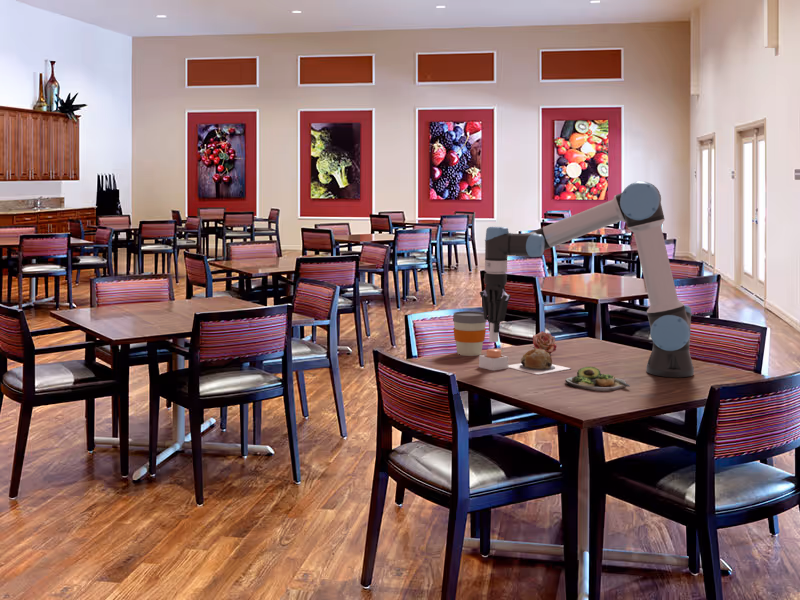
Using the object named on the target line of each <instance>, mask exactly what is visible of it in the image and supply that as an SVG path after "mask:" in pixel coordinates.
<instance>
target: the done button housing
mask: <svg viewBox="0 0 800 600" xmlns="http://www.w3.org/2000/svg"><path fill="white" fill-rule="evenodd" d="M508 365H509V356H506V355H503V354H501V357H499V358H490V357H486V354H481V355H478V367H479V368H480V369H485V370H488V371H499V370H505V369H509V368H508Z"/></svg>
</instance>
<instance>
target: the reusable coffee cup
mask: <svg viewBox="0 0 800 600" xmlns="http://www.w3.org/2000/svg"><path fill="white" fill-rule="evenodd" d="M452 321H453V336H454V337H453V339H454V341H455V346H456V347H455V348H456V354H457V355H459V354H460V356H466V357H473V356H475V357H477V356H480V355H482V351H483V345H484V341H485V338H486V331H487V328H486V325H487V322H488V320H485V319H484V312H481V311H472V310H471V311H470V310H469V311H467V310H465V311H455V312H453V317H452Z"/></svg>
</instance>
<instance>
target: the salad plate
mask: <svg viewBox="0 0 800 600" xmlns="http://www.w3.org/2000/svg"><path fill="white" fill-rule="evenodd" d="M564 382H565V383H566V385H568V386H570V387H573V388H576V389H577V388H578V389H583V390H589V391H597V392H611V391H613V392H614V391H617V390H621V389H623V388H626V387H631V385H630V384H628V383H626V380H625V379H622V378H621V379H620V378H616V377H615V376H614V375H611V374H608V373H607V374H605V373H601V370H600V369H598V368H597V367H595V366H585V367H581V368H579V369H578V370H577V372H576V376H572V377H567V378H565V380H564Z"/></svg>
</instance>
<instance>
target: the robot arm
mask: <svg viewBox="0 0 800 600" xmlns="http://www.w3.org/2000/svg"><path fill="white" fill-rule="evenodd" d="M661 196H662V195H661V192H660V190H659V189H658V188H657V187H656V185H655V184H652V183H650V182H647V181H643V180H639V181H635V182H632V183H630V184H629V185H627V186H626V187H624V190H623V191H622V192H621V193H618V194H615V195H613V199H611V200H608V201H606V202H602V203H601V204H598V205H596V206H594V207H591V208H588V209H586V210H584V211H583V210H582V211H581V212H579V213H575V214H573V215H570V216H568V217H566V218H563V219H560V220H558V221H556V222H553V223H551V224H550V223H549V224H548V225H546V226H543V227H540V228H538V229H536V230H533V231H530V232H527V233H511V232H509V228H508V227H507V226H488V227H487V228H486V230H485V239H484V241H485V242H484V245H485V246H484V248H485V249H484V251H485V252H484V274H483V275H484V278H483V279H484V280H483V283H484V284H485V287H484V290H483V291H482V290H481V291H480V292H479V295H480V298H481V302H482V310H483V313H484V319H485V320H487V322H488V332H489V339H488V341H489V342H490V343H496V342H499V333H500V323H502V322H505V319H506V314H507V309H508V305H509V301H510V300H511V298H512V297H511V294H508V293H507V292H506V287H505V285H507V282H508V281H507V278H508V274H507V272H508V256H510V257H512V256H514V257H515V256H516V257H529V258H530V257H531V258H538V257H539V258H540V257H542V256H543V255H544V252H545V250H548V249H549V250H550V248H553V247H556V246H558V245H561V244H565V243H566V242H569V241H571V240H574V239H577V238H579V237H582V236H585V235H588V234H590V233H592V232H595V231H598V230H600V229H603V228H606V227H608V226H612V225H614V224H617V223H619V222H624V223H626V227H627V229H628V230H629V231H631V232H632V234H633V235H634V241H635V245H636V248H637V253H638V254H637V255H638V258H639V262H640V267H641V270H642V271H641V272H642V274H643V280H644V284H645V288H646V293H647V297H648V300H649V307H648V308H647V310H646V313H647V314H646V315H647V318H648V322H649V323H648V324H649V327H650V338H651V340H652V350H651V353H650V355H649V358H648V361H647V363H646V369H645V370H646V373H648V374H650V375H653V376H657V377H658V376H659V377H665V378H688V377H692V376H694V371H695V369H694V364H693V360H692V358H691V353H690V343H691V342H690V341H691V327H692V326H691V323H692V316H693V313H692V309H691V307H690V306H689V305H685V304H684V302H682V301H680V300H679V298H678V295H677V290H676V285H675V280H674V278H673V277H674V276H673V272H672V268H671V267H672V266H671V264H670V259H669V254H668V250H667V245H666V242H665V237H664V232H663V230H662V225H663V223H664V221H665V214H664V212H663V211H664V210H663V205H662V197H661Z"/></svg>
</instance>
